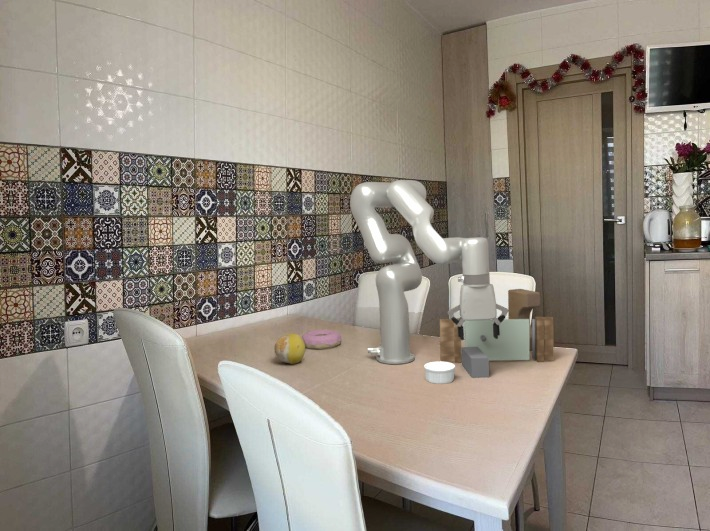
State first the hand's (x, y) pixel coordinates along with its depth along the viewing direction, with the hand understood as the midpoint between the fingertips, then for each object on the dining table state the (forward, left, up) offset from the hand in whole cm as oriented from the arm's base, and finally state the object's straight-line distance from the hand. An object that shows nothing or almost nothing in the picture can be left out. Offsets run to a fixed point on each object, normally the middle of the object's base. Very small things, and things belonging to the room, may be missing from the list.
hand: (478, 338), depth 151 cm
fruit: (-60, +16, -11) cm, 63 cm away
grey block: (-1, +5, -11) cm, 12 cm away
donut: (-53, +40, -12) cm, 67 cm away
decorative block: (+20, +32, -11) cm, 40 cm away
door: (+9, +14, -11) cm, 20 cm away
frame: (+8, +15, -11) cm, 20 cm away
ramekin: (-12, -3, -12) cm, 17 cm away
